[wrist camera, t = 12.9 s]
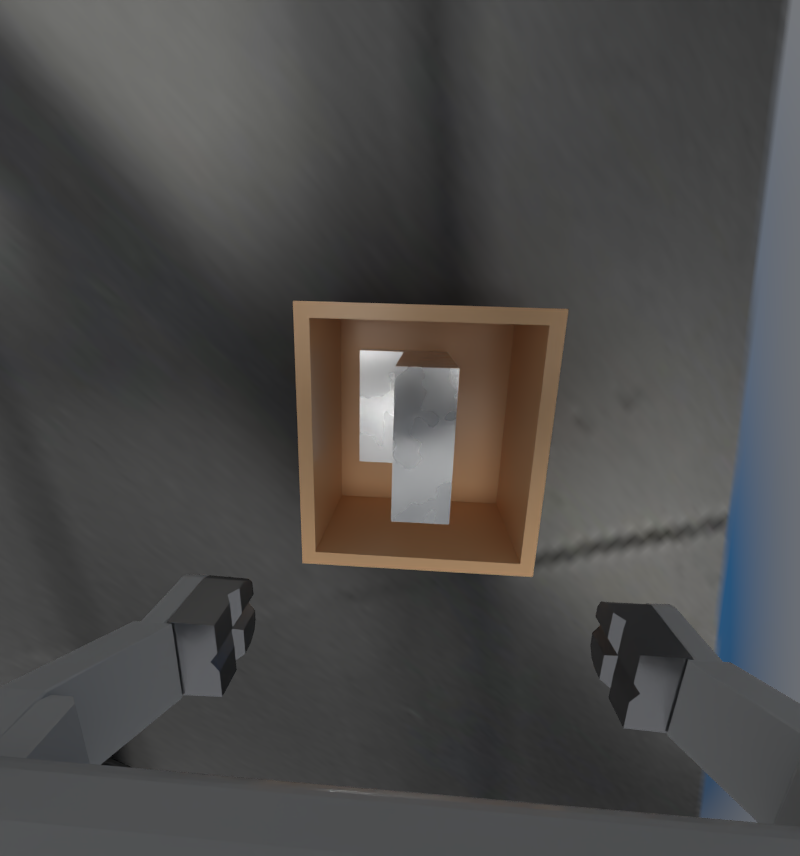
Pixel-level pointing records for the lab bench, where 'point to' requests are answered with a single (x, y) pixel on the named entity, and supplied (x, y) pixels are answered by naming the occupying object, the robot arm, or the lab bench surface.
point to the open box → (474, 436)
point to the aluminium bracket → (411, 428)
